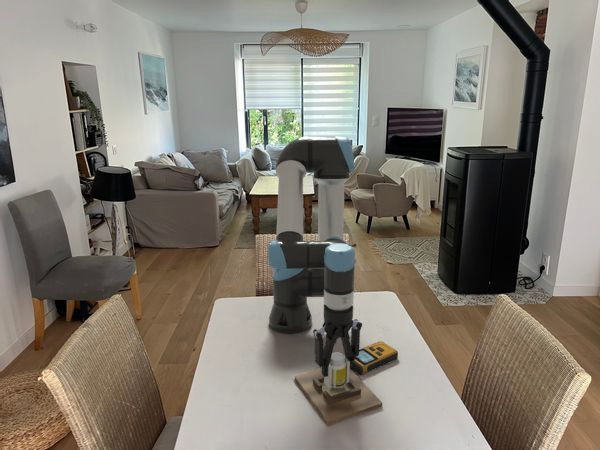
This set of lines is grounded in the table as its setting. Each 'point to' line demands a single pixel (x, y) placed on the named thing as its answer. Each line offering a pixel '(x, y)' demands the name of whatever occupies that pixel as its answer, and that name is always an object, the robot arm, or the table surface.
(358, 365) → the electronic device
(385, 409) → the table surface
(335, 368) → the supplement bottle
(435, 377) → the table surface
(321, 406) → the board
